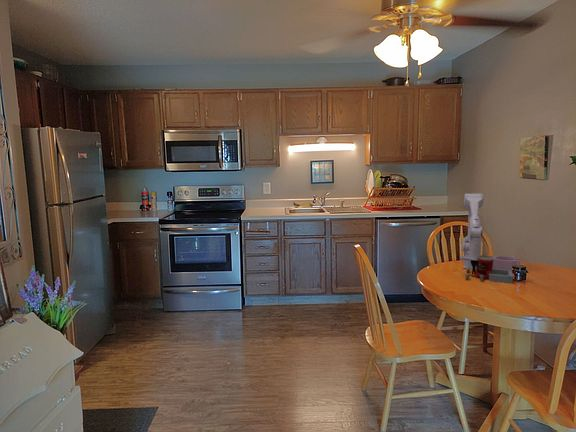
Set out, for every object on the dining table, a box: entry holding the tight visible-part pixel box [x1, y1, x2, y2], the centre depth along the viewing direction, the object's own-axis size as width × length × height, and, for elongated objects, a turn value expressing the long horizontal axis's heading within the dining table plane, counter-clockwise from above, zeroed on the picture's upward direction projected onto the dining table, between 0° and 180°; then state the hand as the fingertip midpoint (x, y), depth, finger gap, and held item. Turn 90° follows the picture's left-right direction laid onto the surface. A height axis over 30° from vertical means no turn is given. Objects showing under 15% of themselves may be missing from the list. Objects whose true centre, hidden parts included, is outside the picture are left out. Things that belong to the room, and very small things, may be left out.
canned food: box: [475, 255, 493, 280], centre depth 216 cm, size 8×8×11 cm
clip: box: [484, 255, 521, 272], centre depth 232 cm, size 20×12×7 cm, turn 64°
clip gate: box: [465, 267, 471, 281], centre depth 221 cm, size 19×2×2 cm, turn 154°
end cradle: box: [488, 269, 514, 284], centre depth 214 cm, size 14×11×4 cm
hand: (473, 274), depth 219 cm, fingers closed, pressing on canned food
